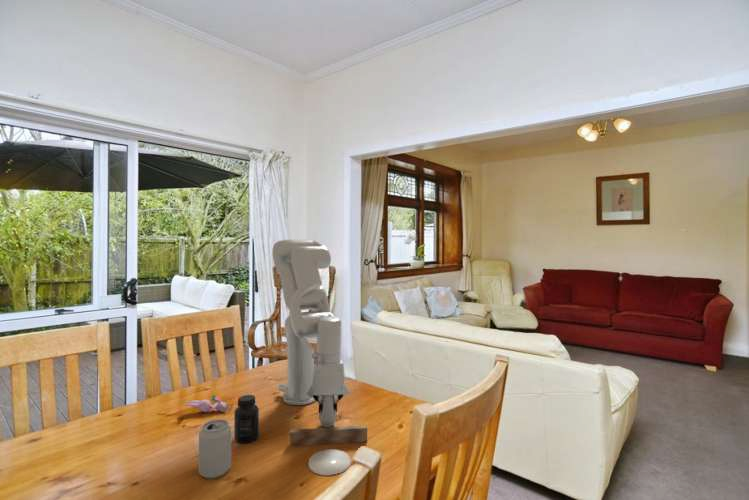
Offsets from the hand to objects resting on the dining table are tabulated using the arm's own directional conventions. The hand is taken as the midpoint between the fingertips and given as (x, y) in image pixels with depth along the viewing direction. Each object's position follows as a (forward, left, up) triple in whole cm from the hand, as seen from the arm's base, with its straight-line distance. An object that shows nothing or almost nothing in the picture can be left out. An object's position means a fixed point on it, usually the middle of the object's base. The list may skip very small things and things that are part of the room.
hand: (327, 413), depth 120 cm
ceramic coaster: (+8, -18, -4) cm, 21 cm away
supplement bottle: (-20, -14, -4) cm, 25 cm away
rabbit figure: (-42, -3, -4) cm, 42 cm away
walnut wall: (+4, -9, -4) cm, 11 cm away
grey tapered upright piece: (0, 0, -3) cm, 3 cm away
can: (-18, -30, -4) cm, 35 cm away
